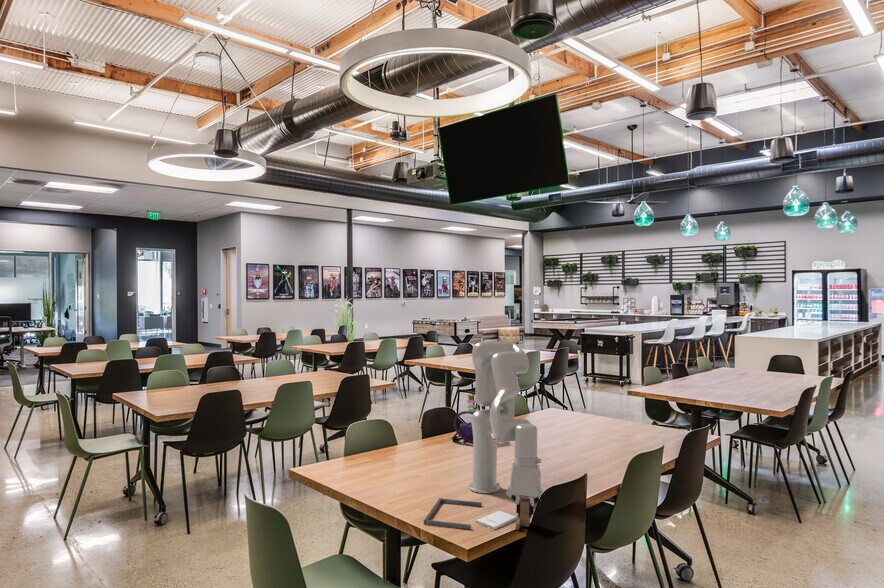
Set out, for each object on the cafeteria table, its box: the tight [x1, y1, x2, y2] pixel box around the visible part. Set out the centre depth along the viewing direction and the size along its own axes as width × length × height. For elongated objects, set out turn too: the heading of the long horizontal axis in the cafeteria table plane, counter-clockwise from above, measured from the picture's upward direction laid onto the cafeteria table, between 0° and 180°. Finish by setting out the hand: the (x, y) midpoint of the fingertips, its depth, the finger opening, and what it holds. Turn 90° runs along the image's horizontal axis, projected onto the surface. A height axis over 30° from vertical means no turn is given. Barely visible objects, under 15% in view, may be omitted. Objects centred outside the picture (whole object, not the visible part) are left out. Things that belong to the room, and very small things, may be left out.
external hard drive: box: [475, 510, 518, 531], centre depth 185 cm, size 2×8×12 cm
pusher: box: [515, 497, 531, 530], centre depth 183 cm, size 11×4×8 cm, turn 167°
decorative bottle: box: [451, 394, 477, 443], centre depth 296 cm, size 22×21×25 cm
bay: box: [423, 498, 483, 530], centre depth 190 cm, size 22×16×1 cm
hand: (525, 515), depth 183 cm, fingers closed on pusher, 3 cm apart
